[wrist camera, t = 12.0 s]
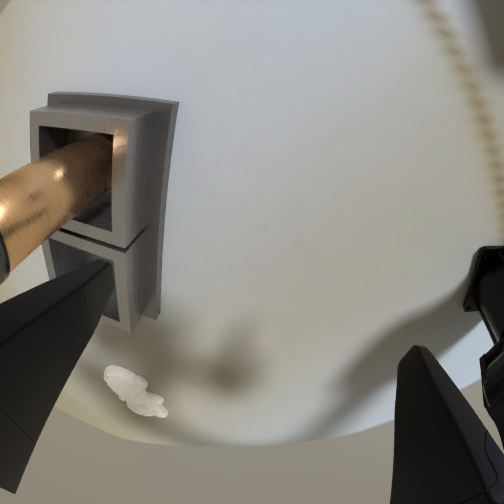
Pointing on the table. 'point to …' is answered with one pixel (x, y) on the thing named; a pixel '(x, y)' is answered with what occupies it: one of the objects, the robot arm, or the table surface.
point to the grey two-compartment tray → (114, 194)
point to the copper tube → (50, 196)
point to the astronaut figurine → (134, 392)
